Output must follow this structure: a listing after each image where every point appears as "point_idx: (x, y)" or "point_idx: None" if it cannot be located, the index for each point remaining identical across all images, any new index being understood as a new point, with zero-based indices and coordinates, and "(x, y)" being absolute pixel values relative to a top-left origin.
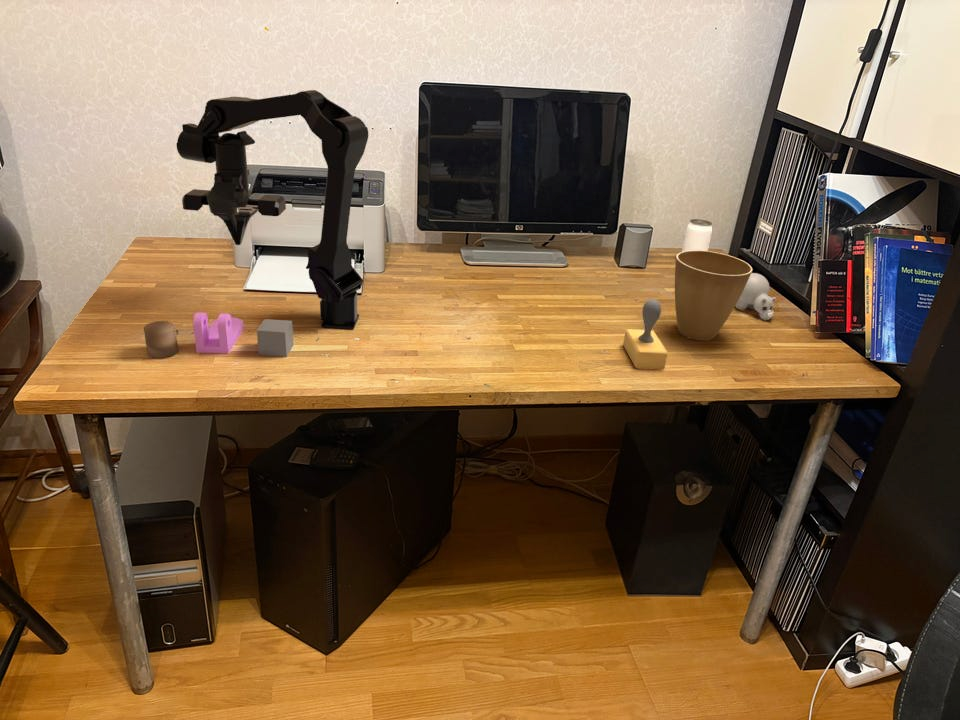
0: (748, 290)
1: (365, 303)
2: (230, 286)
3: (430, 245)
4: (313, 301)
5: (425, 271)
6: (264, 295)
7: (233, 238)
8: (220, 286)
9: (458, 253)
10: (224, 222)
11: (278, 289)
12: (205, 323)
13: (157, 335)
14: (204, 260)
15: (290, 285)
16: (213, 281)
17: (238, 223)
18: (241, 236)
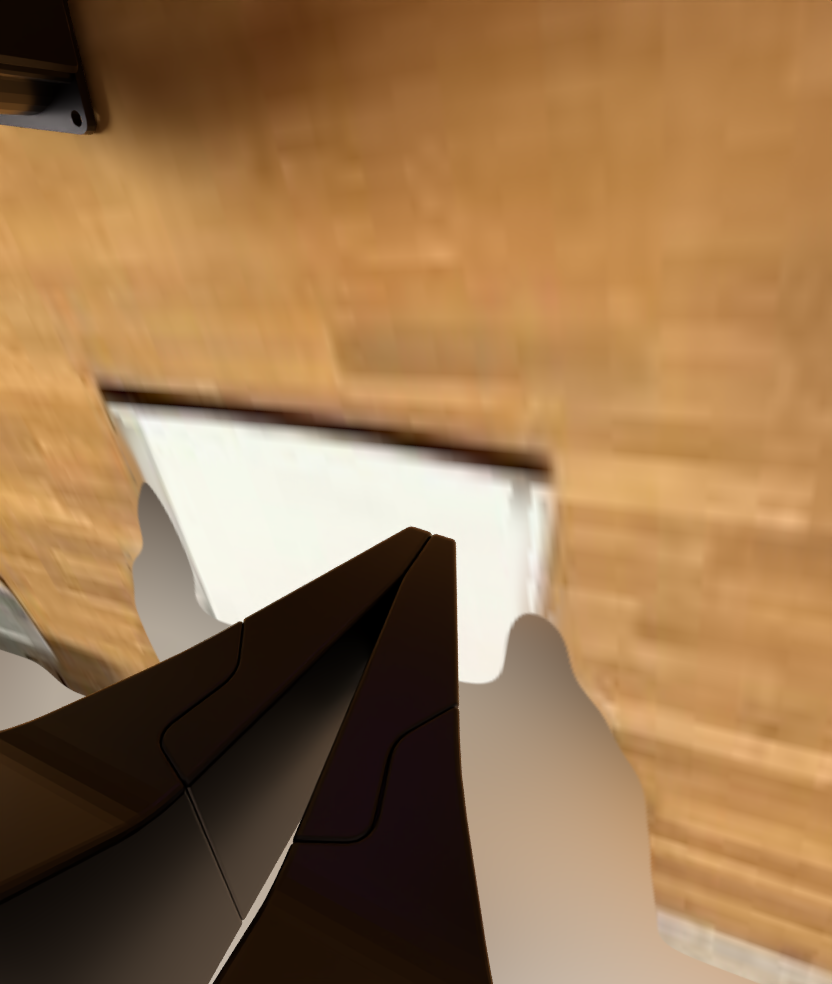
0: None
1: (47, 297)
2: (623, 526)
3: None
4: (220, 318)
5: (45, 550)
6: (441, 400)
7: (445, 588)
8: (679, 534)
9: (45, 636)
10: (475, 901)
11: (393, 466)
12: None
13: None
14: (746, 798)
15: (357, 502)
16: (716, 597)
17: (163, 747)
18: (324, 581)
